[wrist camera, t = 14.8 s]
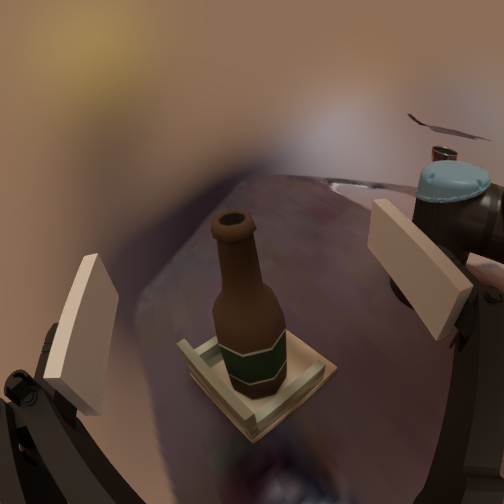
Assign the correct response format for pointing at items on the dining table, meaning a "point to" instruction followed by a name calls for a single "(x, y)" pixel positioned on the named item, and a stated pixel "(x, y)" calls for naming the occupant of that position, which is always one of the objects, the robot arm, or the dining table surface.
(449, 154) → the wine glass
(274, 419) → the wooden display stand
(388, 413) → the dining table surface
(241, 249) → the beer bottle
